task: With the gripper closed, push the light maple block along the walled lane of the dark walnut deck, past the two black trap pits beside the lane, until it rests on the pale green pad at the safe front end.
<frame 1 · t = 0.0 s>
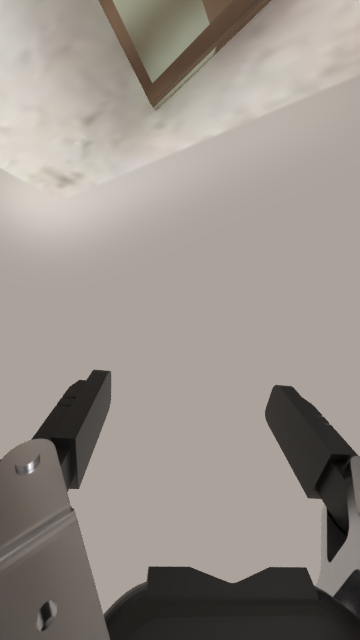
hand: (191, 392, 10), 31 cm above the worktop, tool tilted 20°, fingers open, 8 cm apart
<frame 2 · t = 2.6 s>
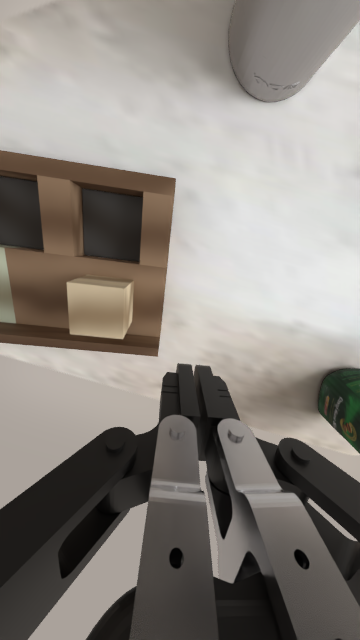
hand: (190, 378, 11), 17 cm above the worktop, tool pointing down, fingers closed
maple block: (111, 299, 23), point 3 cm above the worktop, touching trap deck
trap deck: (63, 256, 25), on the worktop
coffee jar: (338, 390, 34), on the worktop
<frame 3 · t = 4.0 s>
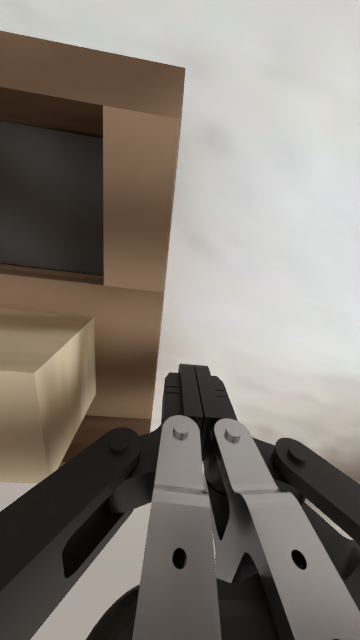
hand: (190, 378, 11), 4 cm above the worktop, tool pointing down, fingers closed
maple block: (49, 354, 11), point 3 cm above the worktop, touching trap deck
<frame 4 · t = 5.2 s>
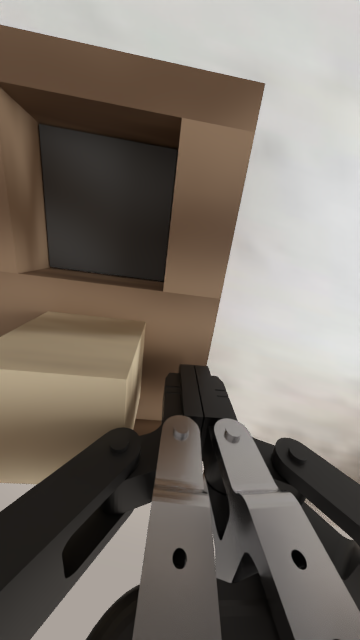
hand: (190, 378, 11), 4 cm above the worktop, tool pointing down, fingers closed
maple block: (98, 358, 11), point 3 cm above the worktop, touching gripper
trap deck: (10, 270, 13), on the worktop
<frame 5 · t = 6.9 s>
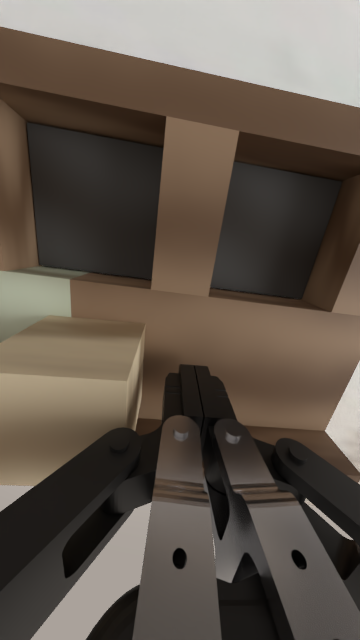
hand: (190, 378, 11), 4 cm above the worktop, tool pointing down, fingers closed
maple block: (99, 360, 12), point 3 cm above the worktop, touching gripper
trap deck: (161, 288, 13), on the worktop
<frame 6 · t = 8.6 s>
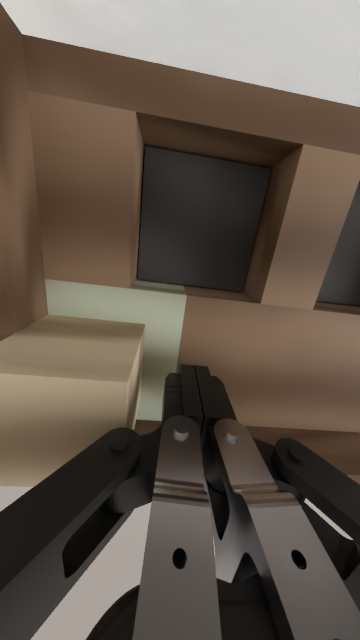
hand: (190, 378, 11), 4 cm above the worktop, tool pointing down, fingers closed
maple block: (98, 360, 12), point 3 cm above the worktop, touching gripper, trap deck
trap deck: (247, 299, 14), on the worktop
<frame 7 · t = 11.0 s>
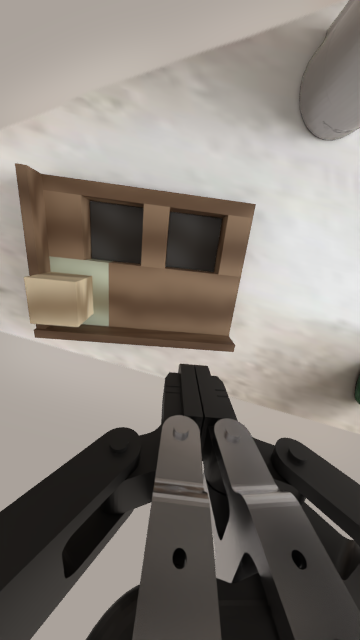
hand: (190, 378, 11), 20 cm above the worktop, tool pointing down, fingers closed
maple block: (73, 293, 26), point 3 cm above the worktop, touching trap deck
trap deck: (147, 268, 29), on the worktop
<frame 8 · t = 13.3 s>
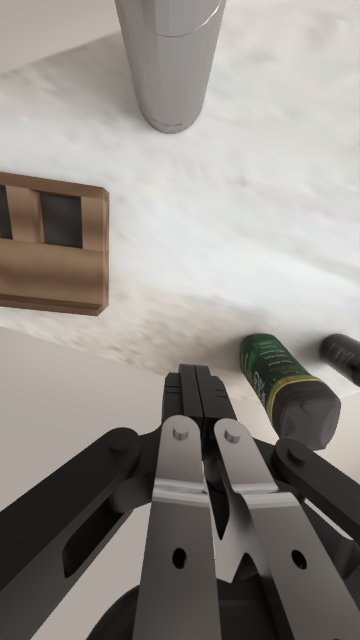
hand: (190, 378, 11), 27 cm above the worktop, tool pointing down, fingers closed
supplement bottle: (333, 347, 42), on the worktop
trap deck: (30, 244, 33), on the worktop
coffee jar: (256, 353, 42), on the worktop
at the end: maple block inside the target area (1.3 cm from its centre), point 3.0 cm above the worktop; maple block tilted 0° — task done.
